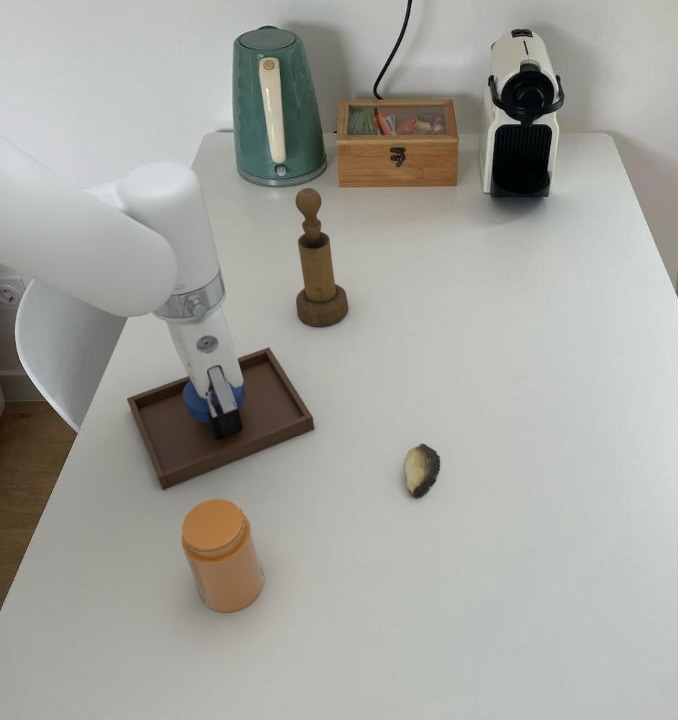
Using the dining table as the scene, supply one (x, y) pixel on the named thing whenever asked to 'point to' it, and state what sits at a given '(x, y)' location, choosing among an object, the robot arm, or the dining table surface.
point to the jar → (222, 555)
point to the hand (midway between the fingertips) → (218, 412)
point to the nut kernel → (421, 469)
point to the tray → (195, 438)
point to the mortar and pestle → (317, 268)
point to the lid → (199, 406)
